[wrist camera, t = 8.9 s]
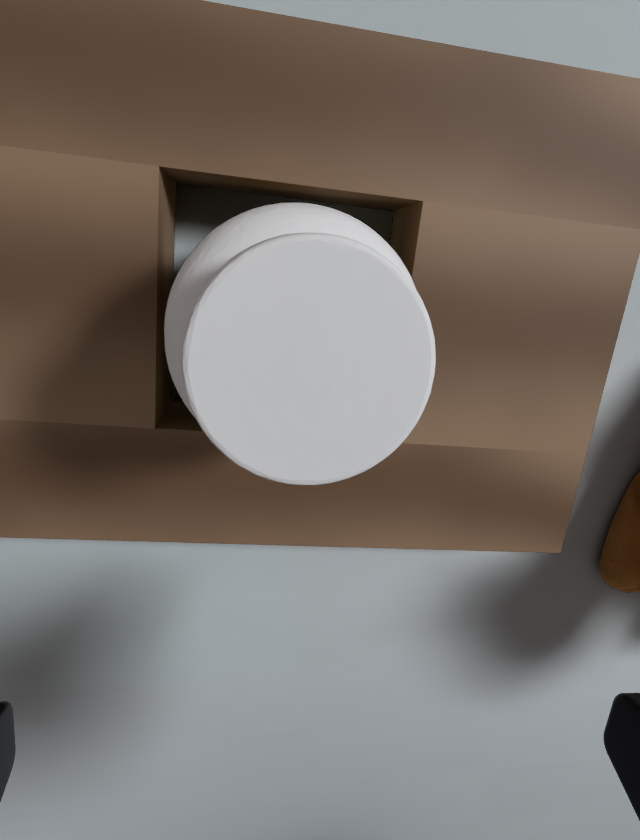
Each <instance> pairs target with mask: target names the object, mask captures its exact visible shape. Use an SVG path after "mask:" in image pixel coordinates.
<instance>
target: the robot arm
mask: <svg viewBox="0 0 640 840" xmlns="http://www.w3.org/2000/svg"><path fill="white" fill-rule="evenodd" d="M604 745H605V748H606V751H607V754H608V756H609V758H610V760H611V762H612V764H613V766H614V768H615V770H616V772H617V774H618V777H619V779H620V781H621V783H622V785H623V787H624V789H625V791H626V793H627V795H628V797H629V800H630V802H631V804H632V806H633V808H634V810H635V812H636V814H637V816H638V818H639V820H640V693H621V694H618V695H617V696H616V697H615V699H614V701H613V704H612V707H611V711H610V714H609V717H608V721H607V724H606V727H605V731H604ZM14 758H15V734H14V719H13V708H12V706H11V704H10V703H9V702H6V701H0V801H1V799H2V796H3V793H4V790H5V787H6V784H7V782H8V779H9V776H10V773H11V770H12V767H13V763H14Z"/></svg>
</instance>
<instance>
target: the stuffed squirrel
mask: <svg viewBox="0 0 640 840" xmlns="http://www.w3.org/2000/svg"><path fill="white" fill-rule="evenodd" d="M599 571H600V573H601V575H602V578H603V579H604V581H605V582H606V583H607V584H608V585H609V586H610V587H612V588H614V589H617V590H620V591H622V592H626V593H629V592H640V472H639V473H638V474H637V475H636V476H635V477H634V478H633V480H632V481H631V483H630V485H629V486H628V488H627V490H626V492H625V494H624V496H623V498H622V500H621V502H620V504H619V507H618V509H617V512H616V514H615V516H614V518H613V520H612V523H611V526H610V529H609V532H608V534H607V537H606V540H605V543H604V546H603V551H602V555H601V558H600V561H599Z"/></svg>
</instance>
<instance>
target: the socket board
mask: <svg viewBox="0 0 640 840" xmlns="http://www.w3.org/2000/svg"><path fill="white" fill-rule="evenodd" d="M176 183H178V184H186V185H194V186H202V187H209V188H217V189H225V190H233V191H241V192H249V193H257V194H264V195H272V196H280V197H288V198H296V199H304V200H312V201H319V202H327V203H335V204H343V205H351V206H359V207H367V208H374V209H382V210H390V211H394V215H393V223H392V230H391V238H390V246H391V247H392V249H393V250H394V251H395V252H396V253H397V255H398V256H399V257H400V259H401V260H402V262H403V263H404V265H405V267H406V268H407V270H408V272H409V274H410V276H411V278H412V280H413V283H414V285H415V287H416V290H417V292H418V294H419V295H420V297H421V299H422V301H423V303H424V305H425V308H426V310H427V312H428V315H429V318H430V321H431V325H432V329H433V334H434V338H435V352H436V364H435V374H434V379H433V383H432V388H431V393H430V396H429V398H428V401H427V404H426V406H425V408H424V410H423V413H422V415H421V417H420V419H419V420H418V422H417V424H416V425H415V427H414V428H413V430H412V431H411V432H410V434H409V435H408V437H407V438H406V439H405V440H404V441H403V442H402V443H401V445H400V446H399V447H398V448H397V449H396V450H395V451H394V452H392V453H391V454H390V455H389V456H388V457H386V458H385V459H384V460H382V461H381V462H379V463H378V464H376V465H375V466H373V467H372V468H370V469H368V470H366V471H364V472H362V473H360V474H358V475H355V476H353V477H350V478H348V479H344V480H341V481H337V482H333V483H327V484H320V485H293V484H286V483H281V482H277V481H273V480H269V479H266V478H263V477H260V476H258V475H255V474H253V473H251V472H249V471H248V470H246V469H244V468H242V467H241V466H239V465H237V464H236V463H234V462H233V461H231V460H230V459H229V458H228V457H226V456H225V455H224V454H223V453H222V452H221V451H220V450H218V449H217V447H216V446H215V445H214V444H213V443H212V442H211V440H210V439H209V438H208V437H207V435H206V434H205V433H204V431H203V430H202V429H201V427H200V425H199V424H198V422H197V420H196V418H195V417H194V416H193V415H192V414H191V412H190V411H189V409H188V408H187V407H186V405H185V404H184V402H176V401H171V374H170V371H169V367H168V363H167V358H166V352H165V339H164V322H165V312H166V307H167V302H168V297H169V294H170V291H171V288H172V285H173V280H174V239H175V197H176ZM639 253H640V79H638V78H632V77H627V76H621V75H615V74H610V73H604V72H599V71H593V70H588V69H582V68H576V67H571V66H565V65H560V64H554V63H548V62H543V61H537V60H532V59H526V58H521V57H515V56H509V55H504V54H498V53H493V52H487V51H481V50H476V49H470V48H465V47H459V46H454V45H448V44H442V43H437V42H431V41H426V40H420V39H414V38H409V37H403V36H398V35H392V34H386V33H381V32H375V31H370V30H364V29H359V28H353V27H347V26H342V25H336V24H331V23H325V22H319V21H314V20H308V19H303V18H297V17H292V16H286V15H280V14H275V13H269V12H264V11H258V10H252V9H247V8H241V7H236V6H230V5H225V4H219V3H213V2H208V1H202V0H0V537H7V538H43V539H78V540H114V541H149V542H185V543H220V544H256V545H292V546H327V547H363V548H398V549H434V550H469V551H505V552H541V553H561V549H562V545H563V541H564V538H565V534H566V530H567V526H568V522H569V519H570V515H571V511H572V507H573V503H574V500H575V496H576V492H577V488H578V484H579V481H580V477H581V473H582V469H583V465H584V462H585V458H586V454H587V450H588V446H589V443H590V439H591V435H592V431H593V428H594V424H595V420H596V416H597V412H598V409H599V405H600V401H601V397H602V393H603V390H604V386H605V382H606V378H607V374H608V371H609V367H610V363H611V359H612V355H613V352H614V348H615V344H616V340H617V337H618V333H619V329H620V325H621V321H622V318H623V314H624V310H625V306H626V302H627V299H628V295H629V291H630V287H631V283H632V280H633V276H634V272H635V268H636V264H637V261H638V257H639Z"/></svg>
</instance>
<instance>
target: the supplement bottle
mask: <svg viewBox="0 0 640 840" xmlns="http://www.w3.org/2000/svg"><path fill="white" fill-rule="evenodd" d="M164 339H165V352H166V358H167V363H168V367H169V371H170V374H171V377H172V380H173V382H174V385H175V387H176V389H177V391H178V393H179V395H180V397H181V398H182V400H183V402H184V404H185V405H186V407H187V408H188V409H189V411H190V412H191V414H192V415H193V416H194V417H195V418H196V420H197V422H198V424H199V425H200V427H201V429H202V430H203V431H204V433H205V434H206V435H207V437H208V438H209V439H210V440H211V442H212V443H213V444H214V445H215V446H216V447H217V449H218V450H220V451H221V452H222V453H223V454H224V455H225V456H226V457H228V458H229V459H230V460H231V461H233V462H234V463H236V464H237V465H239V466H241V467H242V468H244V469H246V470H248V471H249V472H251V473H253V474H255V475H258V476H260V477H263V478H266V479H269V480H273V481H277V482H281V483H286V484H293V485H320V484H327V483H333V482H337V481H341V480H344V479H348V478H350V477H353V476H355V475H358V474H360V473H362V472H364V471H366V470H368V469H370V468H372V467H373V466H375V465H376V464H378V463H379V462H381V461H382V460H384V459H385V458H386V457H388V456H389V455H390V454H391V453H392V452H394V451H395V450H396V449H397V448H398V447H399V446H400V445H401V443H402V442H403V441H404V440H405V439H406V438H407V437H408V435H409V434H410V432H411V431H412V430H413V428H414V427H415V425H416V424H417V422H418V420H419V419H420V417H421V415H422V413H423V410H424V408H425V406H426V404H427V401H428V398H429V396H430V393H431V388H432V383H433V379H434V374H435V364H436V352H435V338H434V334H433V329H432V325H431V321H430V318H429V315H428V312H427V310H426V308H425V305H424V303H423V301H422V299H421V297H420V295H419V294H418V292H417V290H416V287H415V285H414V283H413V280H412V278H411V276H410V274H409V272H408V270H407V268H406V267H405V265H404V263H403V262H402V260H401V259H400V257H399V256H398V255H397V253H396V252H395V251H394V250H393V249H392V247H391V246H390V245H389V244H388V243H387V242H386V241H385V240H384V239H383V238H382V237H381V236H380V235H379V234H377V233H376V232H375V231H374V230H373V229H371V228H370V227H369V226H367V225H366V224H364V223H363V222H361V221H360V220H358V219H356V218H354V217H352V216H350V215H348V214H346V213H343V212H341V211H338V210H336V209H333V208H329V207H325V206H322V205H317V204H311V203H278V204H271V205H265V206H261V207H257V208H254V209H251V210H248V211H246V212H243V213H241V214H239V215H237V216H235V217H233V218H231V219H229V220H227V221H226V222H224V223H223V224H221V225H220V226H218V227H216V228H215V229H214V230H213V231H211V232H210V233H209V234H208V235H207V236H206V237H205V238H204V239H202V240H201V241H200V242H199V243H198V244H197V246H196V247H195V248H194V250H193V251H192V252H191V253H190V255H189V256H188V257H187V259H186V260H185V262H184V263H183V265H182V267H181V269H180V270H179V272H178V274H177V276H176V279H175V281H174V283H173V285H172V288H171V291H170V294H169V297H168V302H167V307H166V312H165V322H164Z"/></svg>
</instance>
